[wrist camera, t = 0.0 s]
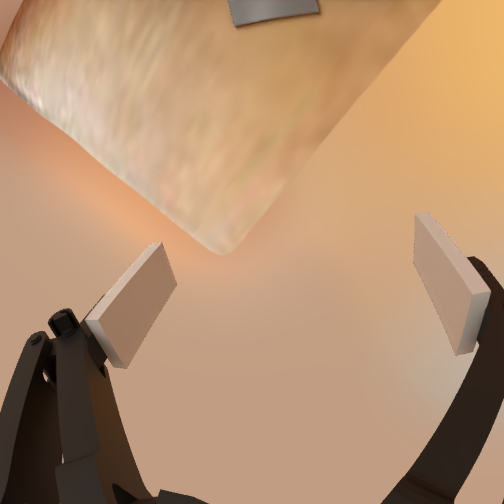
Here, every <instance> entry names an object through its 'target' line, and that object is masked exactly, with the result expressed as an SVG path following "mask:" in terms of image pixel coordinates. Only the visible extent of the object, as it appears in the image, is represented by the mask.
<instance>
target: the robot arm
mask: <svg viewBox="0 0 504 504" xmlns="http://www.w3.org/2000/svg"><path fill="white" fill-rule="evenodd" d="M413 263H414V265H415V267H416V269H417V271H418V273H419V275H420V277H421V279H422V281H423V283H424V285H425V287H426V289H427V291H428V293H429V295H430V297H431V299H432V302H433V304H434V306H435V308H436V310H437V313H438V315H439V317H440V319H441V322H442V324H443V326H444V329H445V331H446V333H447V335H448V338H449V340H450V343H451V345H452V348H453V350H454V353H455V355H456V356H457V355H461V354H466V353H470V352H473V350H474V347H475V344H476V341H478V343H479V348H478V350H477V352H476V355H475V357H474V359H473V362H472V364H471V366H470V368H469V370H468V372H467V375H466V377H465V379H464V381H463V383H462V385H461V387H460V389H459V391H458V393H457V394H456V396H455V398H454V400H453V402H452V404H451V406H450V407H449V409H448V411H447V413H446V414H445V416H444V418H443V420H442V421H441V423H440V425H439V426H438V428H437V430H436V431H435V433H434V434H433V436H432V438H431V439H430V441H429V442H428V444H427V445H426V447H425V448H424V450H423V451H422V453H421V454H420V456H419V457H418V458H417V460H416V461H415V463H414V464H413V466H412V467H411V468H410V470H409V471H408V472H407V473H406V475H405V476H404V477H403V478H402V479H401V480H400V481H399V482H398V484H397V485H396V486H395V487H394V488H393V490H392V491H391V492H390V493H389V495H388V496H387V497H386V498H385V499H384V500H383V502H382V503H381V504H454V499H455V497H456V495H457V494H458V492H459V490H460V489H461V487H462V485H463V484H464V482H465V480H466V478H467V477H468V475H469V473H470V471H471V469H472V467H473V466H474V464H475V462H476V460H477V458H478V456H479V454H480V452H481V450H482V448H483V446H484V444H485V442H486V440H487V438H488V435H489V433H490V431H491V429H492V426H493V424H494V422H495V419H496V417H497V414H498V412H499V409H500V407H501V404H502V401H503V399H504V289H503V288H502V286H501V285H500V284H499V282H498V281H497V280H496V278H495V277H494V276H493V274H492V273H491V272H490V271H489V270H488V268H487V267H486V265H485V264H484V263H483V262H482V261H480V260H479V259H477V258H476V257H474V256H473V257H466V256H465V255H464V254H463V252H462V251H461V250H460V249H459V247H458V246H457V245H456V244H455V243H454V241H453V240H452V239H451V237H450V236H449V235H448V234H447V233H446V231H445V230H444V229H443V228H442V227H441V226H440V224H439V223H438V222H437V221H436V220H435V219H434V217H432V215H431V214H430V213H429V212H427V213H416V214H415V240H414V261H413ZM176 286H177V283H176V280H175V278H174V275H173V272H172V269H171V266H170V263H169V261H168V258H167V255H166V252H165V250H164V246H163V244H162V242H161V243H153V244H150V245H149V246H148V247H147V248H146V249H145V251H144V252H143V253H142V254H141V255H140V256H139V257H138V258H137V259H136V260H135V261H134V262H133V264H132V265H131V266H130V267H129V268H128V269H127V270H126V271H125V273H124V274H123V275H122V276H121V277H120V278H119V279H118V280H117V282H116V283H115V284H114V285H113V286H112V287H111V289H110V290H109V291H108V292H107V293H106V294H105V295H103V296H102V298H101V299H100V300H99V301H98V302H97V304H96V305H95V306H94V307H93V309H91V311H90V312H89V313H88V314H87V316H86V317H85V318H84V319H83V320H82V322H81V323H80V324H79V322H78V320H77V319H76V317H75V315H74V313H73V312H72V310H71V309H69V308H68V309H63V310H60V311H58V312H56V313H55V314H54V315H53V316H52V317H51V318H50V319H49V321H48V325H49V326H50V328H51V330H52V331H53V333H54V334H55V336H56V338H53V339H49V337H48V335H47V334H46V332H44V331H39V332H37V333H34V334H33V335H31V336H30V338H29V339H28V340H27V342H26V344H25V346H24V348H23V351H22V353H21V356H20V358H19V361H18V363H17V366H16V368H15V371H14V374H13V376H12V379H11V382H10V385H9V387H8V391H7V393H6V397H5V399H4V402H3V405H2V409H1V412H0V504H208V503H206V502H204V501H201V500H199V499H197V498H195V497H192V496H187V495H183V494H178V493H173V492H169V491H165V490H160V492H159V495H158V497H152V495H151V494H150V493H149V492H148V491H147V489H146V487H145V486H144V483H143V481H142V479H141V476H140V473H139V471H138V468H137V465H136V463H135V460H134V457H133V455H132V452H131V449H130V446H129V443H128V441H127V437H126V434H125V431H124V428H123V425H122V422H121V418H120V415H119V411H118V408H117V404H116V401H115V397H114V393H113V389H112V386H111V382H110V378H109V373H108V369H107V367H106V366H105V365H104V362H105V361H106V359H107V358H108V359H109V361H110V363H111V364H112V366H113V367H116V368H124V369H127V367H128V366H129V364H130V362H131V360H132V359H133V357H134V355H135V353H136V352H137V350H138V348H139V346H140V345H141V343H142V342H143V340H144V338H145V337H146V335H147V333H148V332H149V330H150V328H151V327H152V325H153V323H154V321H155V320H156V318H157V317H158V315H159V313H160V312H161V310H162V308H163V307H164V305H165V304H166V302H167V300H168V299H169V297H170V295H171V294H172V292H173V290H174V289H175V287H176ZM43 372H44V373H45V375H46V376H47V377H48V379H47V382H46V381H45V379H44V376H43ZM62 455H63V458H64V463H62ZM502 504H504V500H503V503H502Z"/></svg>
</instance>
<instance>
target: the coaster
mask: <svg viewBox="0 0 504 504" xmlns="http://www.w3.org/2000/svg"><path fill="white" fill-rule="evenodd" d="M228 2H229V7H230V11H231V15H232V19H233V23H234V26H235V27H238V26H242V25H247V24H252V23H256V22H261V21H267V20H272V19H278V18H284V17H291V16H298V15H306V14H315V13H319V8H318V5H317V1H316V0H228Z"/></svg>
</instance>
